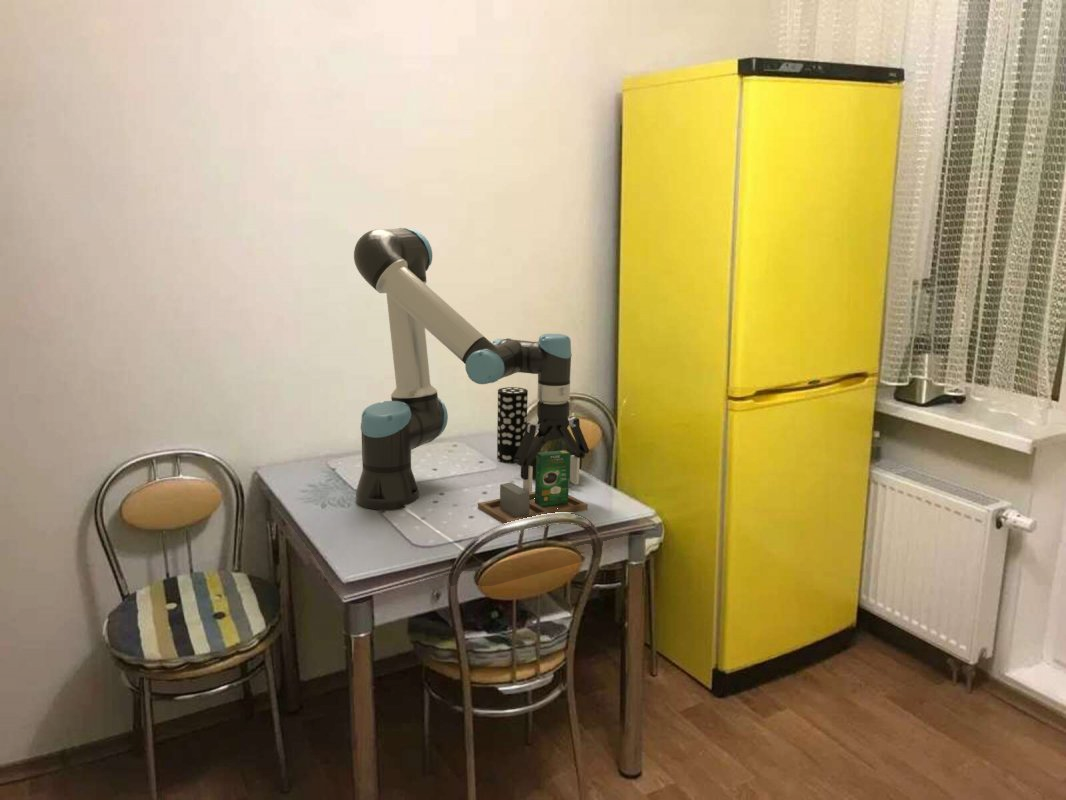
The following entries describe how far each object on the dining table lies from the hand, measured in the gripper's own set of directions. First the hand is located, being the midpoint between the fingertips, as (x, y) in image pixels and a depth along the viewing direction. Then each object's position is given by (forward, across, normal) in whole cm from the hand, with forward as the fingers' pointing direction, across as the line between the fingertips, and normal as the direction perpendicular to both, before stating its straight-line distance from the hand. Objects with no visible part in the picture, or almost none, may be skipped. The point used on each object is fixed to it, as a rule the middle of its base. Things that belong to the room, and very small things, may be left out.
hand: (551, 487), depth 205 cm
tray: (+5, -5, 0) cm, 7 cm away
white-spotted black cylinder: (+5, +13, +38) cm, 40 cm away
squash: (+5, +14, +19) cm, 24 cm away
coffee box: (+5, 0, 0) cm, 5 cm away
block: (+4, -10, 0) cm, 11 cm away
